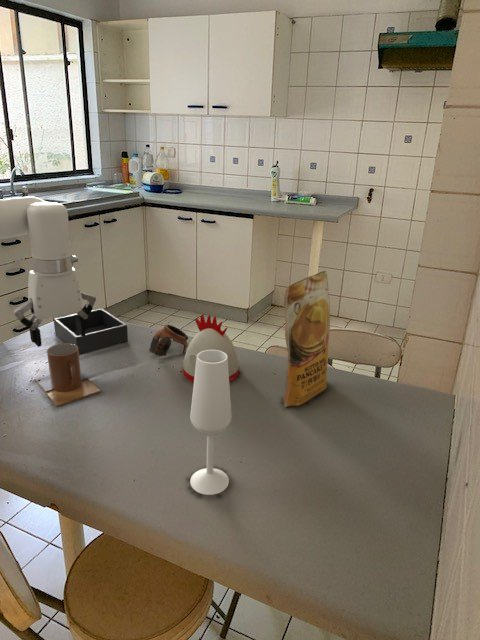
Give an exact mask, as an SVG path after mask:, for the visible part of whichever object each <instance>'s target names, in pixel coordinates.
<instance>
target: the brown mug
mask: <svg viewBox="0 0 480 640" xmlns="http://www.w3.org/2000/svg"><path fill="white" fill-rule="evenodd" d="M46 356H47V363H48V371H49V372H48V373H49V379H50V380H49V381H50V387H51V389H53V390H55V391H57V392H69V391H73V390H75V389H77V388H79V387H80V386H81V384H82V380H83V378H82V371H81V370H82V369H81V360H80V355H79V349H78V346H77V345H75V344H70V343H63V342H62V343H57V344H53V345H52V346H50V347H48V348H47V350H46Z"/></svg>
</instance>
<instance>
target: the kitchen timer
mask: <svg viewBox="0 0 480 640" xmlns="http://www.w3.org/2000/svg"><path fill="white" fill-rule="evenodd" d="M211 318H212V317H211V315H210V314H208V316H207V319H206V320H205V316H204V314H201V315H200V320H199V318H198V317H196V318H195V319H194V321H195V323H196V327H197V328H198V332H197V333H196V334H195V335H194V336H193V337H192V338H191V339H190V340H189V344H188V345H187V348H186V351H185V353H184V358H183V362H182V374H183V376H184V377H185V379H186V380H187V381H189V382H191V383H194V377H195V368H196V359H197V354H198V353H200V352H202V351H205V350H219V351H222V352H224V353H226V354H227V357H228V372H229V383H231V382H232V381H234V380H236V378H237V377H238V376H239V372H240V371H239V368H240V365H239V364H240V363H239V358H238V355H237V351H236V348H235V347H234V344H233V342H232V340H231V339H230V337H229V336H228V335H227V334H226V332H227V330H228V326H226V327H225V328H224V329H223V330H222V324H223V321H222V320H221V321H220V322H219V323H218V321H217V316H216V315H214V316H213V318H212V319H211Z"/></svg>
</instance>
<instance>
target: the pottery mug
mask: <svg viewBox="0 0 480 640" xmlns="http://www.w3.org/2000/svg"><path fill="white" fill-rule="evenodd" d="M188 339H189V336H188V335H187V333H185V332H184V331H183V330H181V329H179V328H178V327H176V326H174V325H171V324H164V326H163V328H159V330H157V331H156V332H155V333H154V334H153V336H152V339H151V342H150V347H149V352H150V353H152V354H153V355H159V356H161V357H164V356H165V357H166V355H167V352H168V350H169V349H170V347H171V346H172V341H173V342H175V343H178V344H181V345H183V349H182V354H186V351H187V349H188Z"/></svg>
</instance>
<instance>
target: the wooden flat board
mask: <svg viewBox="0 0 480 640" xmlns="http://www.w3.org/2000/svg"><path fill="white" fill-rule="evenodd" d="M33 381H34V382H35V384H36V385H37V386H38V387H39V389H41V391H43V393H44V394H45V395H46V397H48V399H49V400H50V401H51V402H52V403H53V405H55V407H56V408H58V407H62V406H64V405H67V404H70V403H73V402H77V401H79V400H83V399H85V398H88V397H91V396H95V395H98V394H100V393H102V391H101V389H100V388H99V387H97V385H95V383H93V382H92V381H91V380H90V379H89V378H84V379H82V384H81V386H80V387H79V388H77V389H75V390H73V391H69V392H57V391H55V390H53V388H51V389H49V390H45V388H43V386H42V385H41V384H39V382H38V381H37V380H36V379H35V378H34V379H33Z"/></svg>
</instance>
